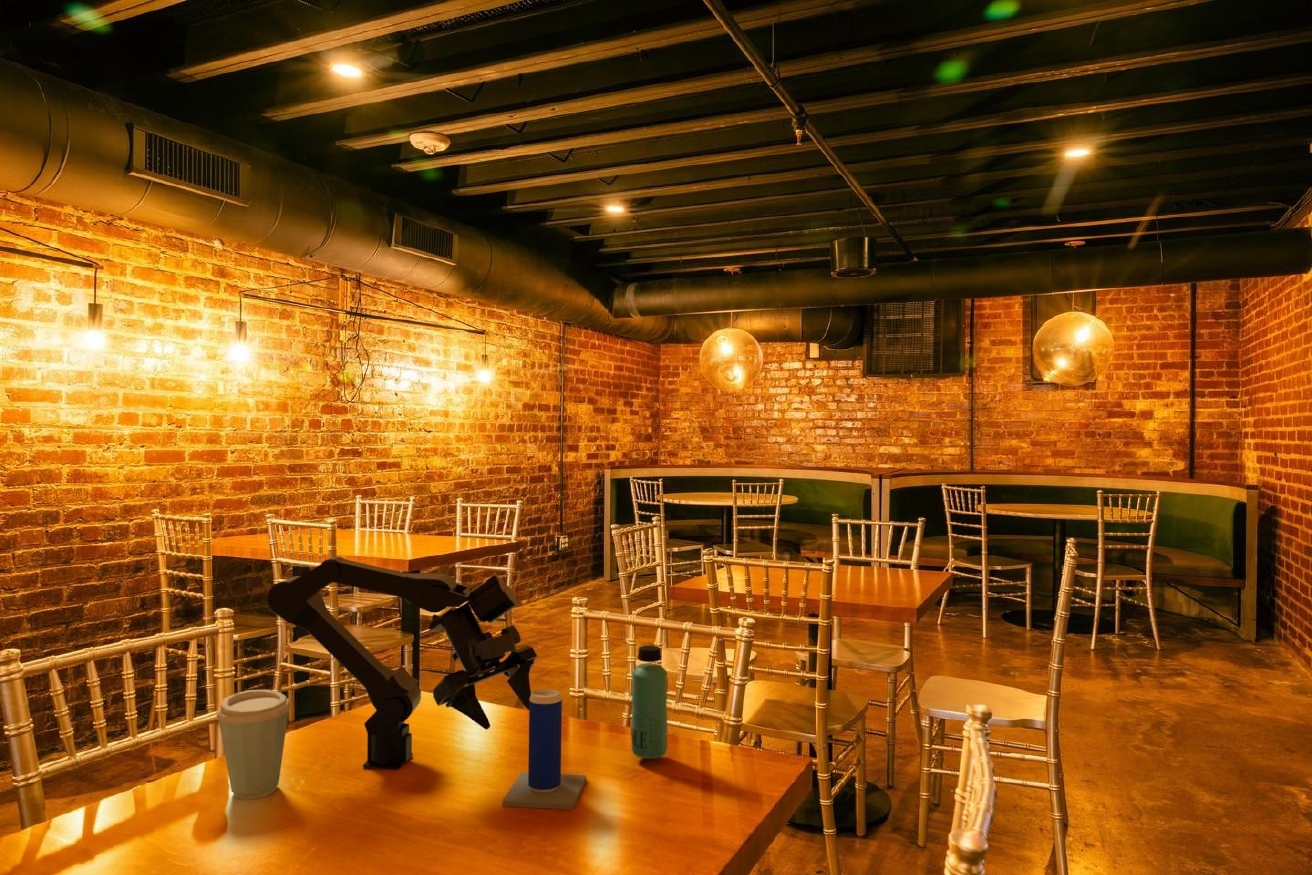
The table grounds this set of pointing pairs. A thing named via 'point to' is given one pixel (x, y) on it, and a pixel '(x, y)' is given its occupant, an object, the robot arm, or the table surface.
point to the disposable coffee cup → (253, 740)
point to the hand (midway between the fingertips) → (510, 718)
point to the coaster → (556, 799)
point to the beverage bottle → (649, 705)
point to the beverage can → (545, 740)
